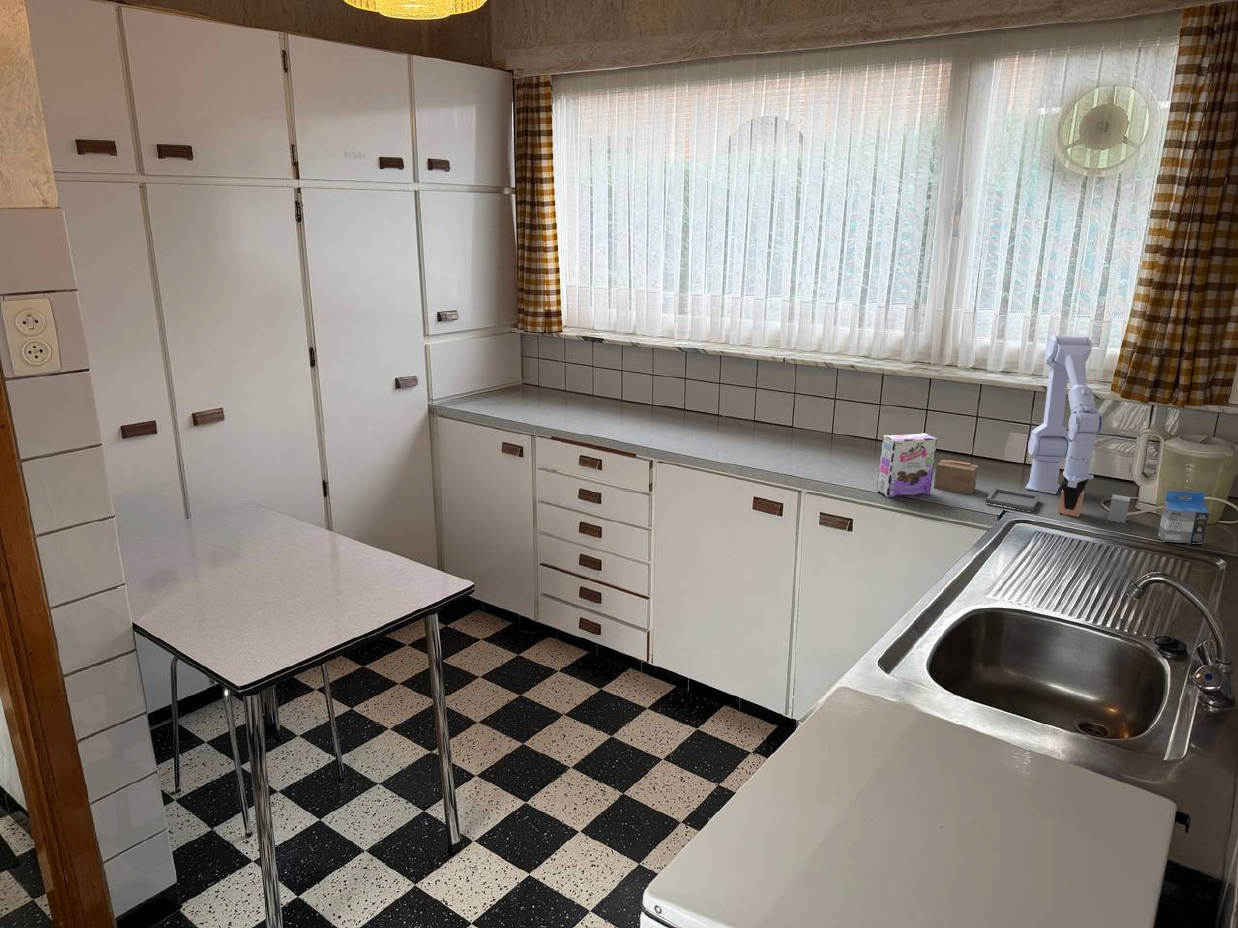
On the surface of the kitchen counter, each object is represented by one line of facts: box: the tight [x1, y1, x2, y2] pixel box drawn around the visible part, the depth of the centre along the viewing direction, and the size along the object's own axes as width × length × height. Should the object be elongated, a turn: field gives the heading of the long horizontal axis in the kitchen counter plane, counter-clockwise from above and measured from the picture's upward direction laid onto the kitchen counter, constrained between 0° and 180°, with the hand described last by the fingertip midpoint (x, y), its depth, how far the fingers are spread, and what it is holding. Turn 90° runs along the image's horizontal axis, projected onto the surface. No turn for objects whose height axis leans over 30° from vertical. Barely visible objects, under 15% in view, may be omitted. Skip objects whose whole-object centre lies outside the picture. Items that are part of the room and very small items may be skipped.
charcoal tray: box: [985, 487, 1040, 513], centre depth 237 cm, size 12×12×2 cm
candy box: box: [875, 432, 938, 498], centre depth 241 cm, size 14×6×16 cm, turn 105°
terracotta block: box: [1057, 489, 1085, 518], centre depth 229 cm, size 4×5×6 cm
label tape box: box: [1157, 490, 1210, 543], centre depth 210 cm, size 9×4×12 cm, turn 82°
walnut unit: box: [933, 459, 979, 495], centre depth 248 cm, size 7×10×7 cm, turn 58°
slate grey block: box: [1107, 494, 1131, 524], centre depth 225 cm, size 4×4×6 cm
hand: (1070, 506), depth 230 cm, fingers closed on terracotta block, 4 cm apart
